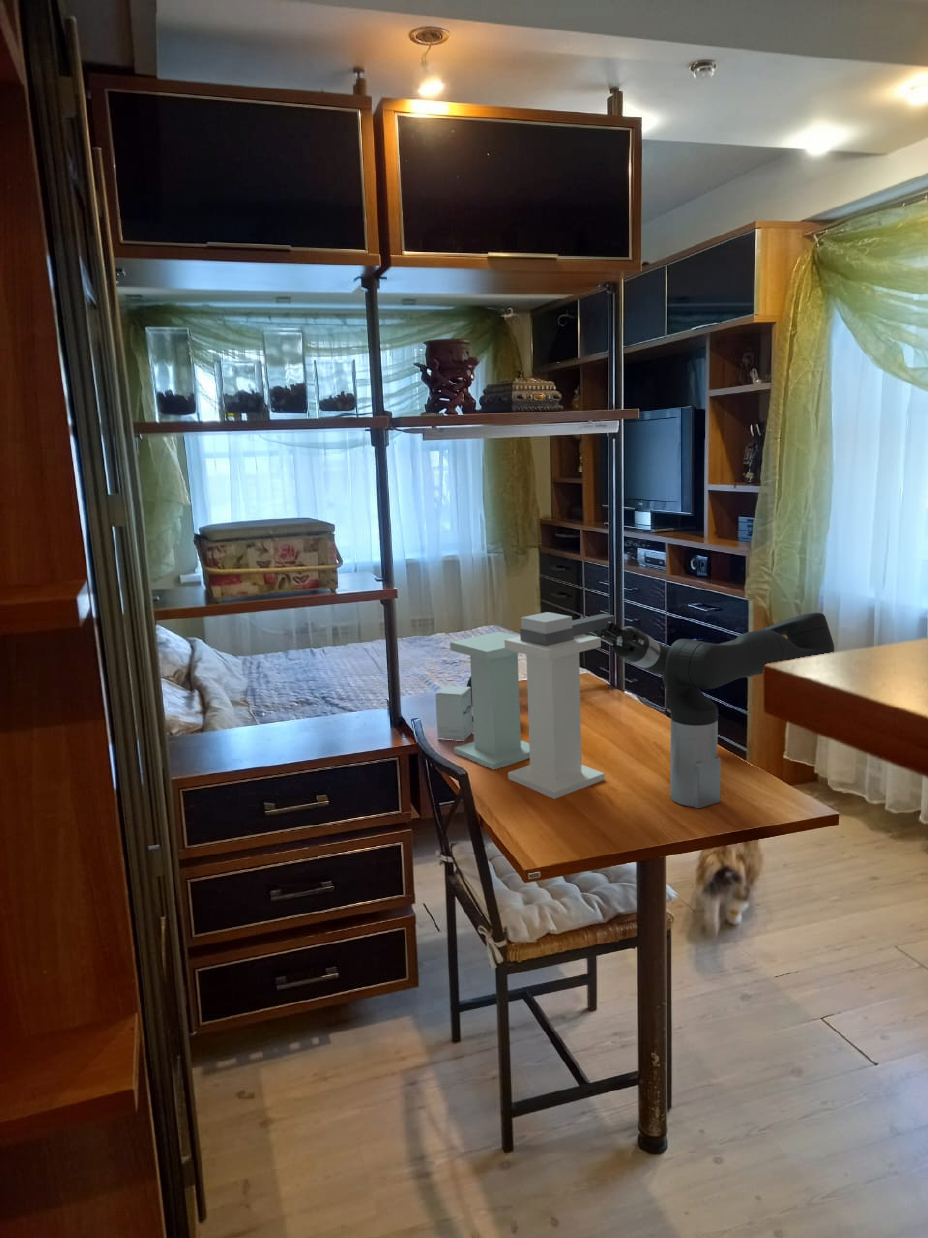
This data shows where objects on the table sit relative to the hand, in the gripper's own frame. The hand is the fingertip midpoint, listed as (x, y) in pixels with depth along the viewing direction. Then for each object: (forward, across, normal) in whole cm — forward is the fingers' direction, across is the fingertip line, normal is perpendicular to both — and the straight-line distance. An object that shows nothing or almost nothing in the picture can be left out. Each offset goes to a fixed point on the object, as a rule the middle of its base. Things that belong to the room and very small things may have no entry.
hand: (593, 623), depth 188 cm
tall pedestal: (-6, 0, +35) cm, 36 cm away
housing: (+5, 0, +4) cm, 7 cm away
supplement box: (-7, -38, +35) cm, 52 cm away
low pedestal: (-6, -21, +35) cm, 41 cm away
